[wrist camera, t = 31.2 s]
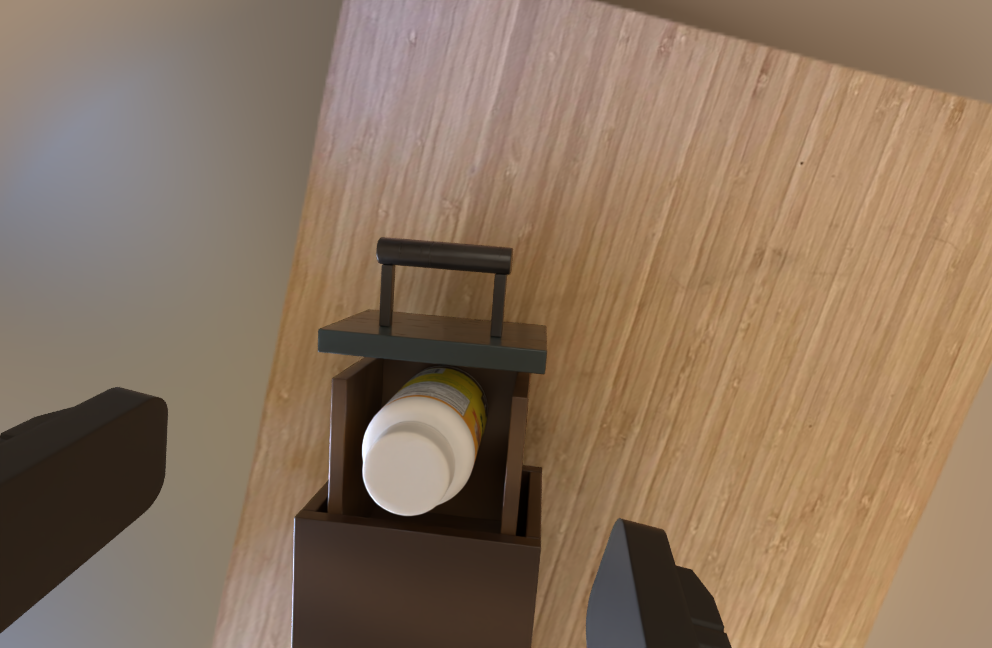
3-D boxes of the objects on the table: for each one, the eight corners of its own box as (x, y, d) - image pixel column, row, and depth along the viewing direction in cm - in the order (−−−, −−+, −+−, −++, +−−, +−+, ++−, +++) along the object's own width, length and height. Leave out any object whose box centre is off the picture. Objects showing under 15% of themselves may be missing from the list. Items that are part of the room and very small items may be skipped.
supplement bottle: (462, 464, 34) (429, 556, 24) (387, 420, 34) (322, 494, 24) (506, 391, 34) (490, 456, 23) (428, 346, 34) (378, 391, 23)
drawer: (371, 234, 34) (320, 233, 26) (553, 249, 33) (556, 252, 25) (359, 506, 37) (310, 576, 29) (527, 526, 36) (522, 603, 28)
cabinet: (357, 446, 37) (294, 517, 28) (541, 467, 36) (541, 547, 27) (350, 637, 39) (288, 762, 30) (522, 661, 38) (516, 798, 29)
